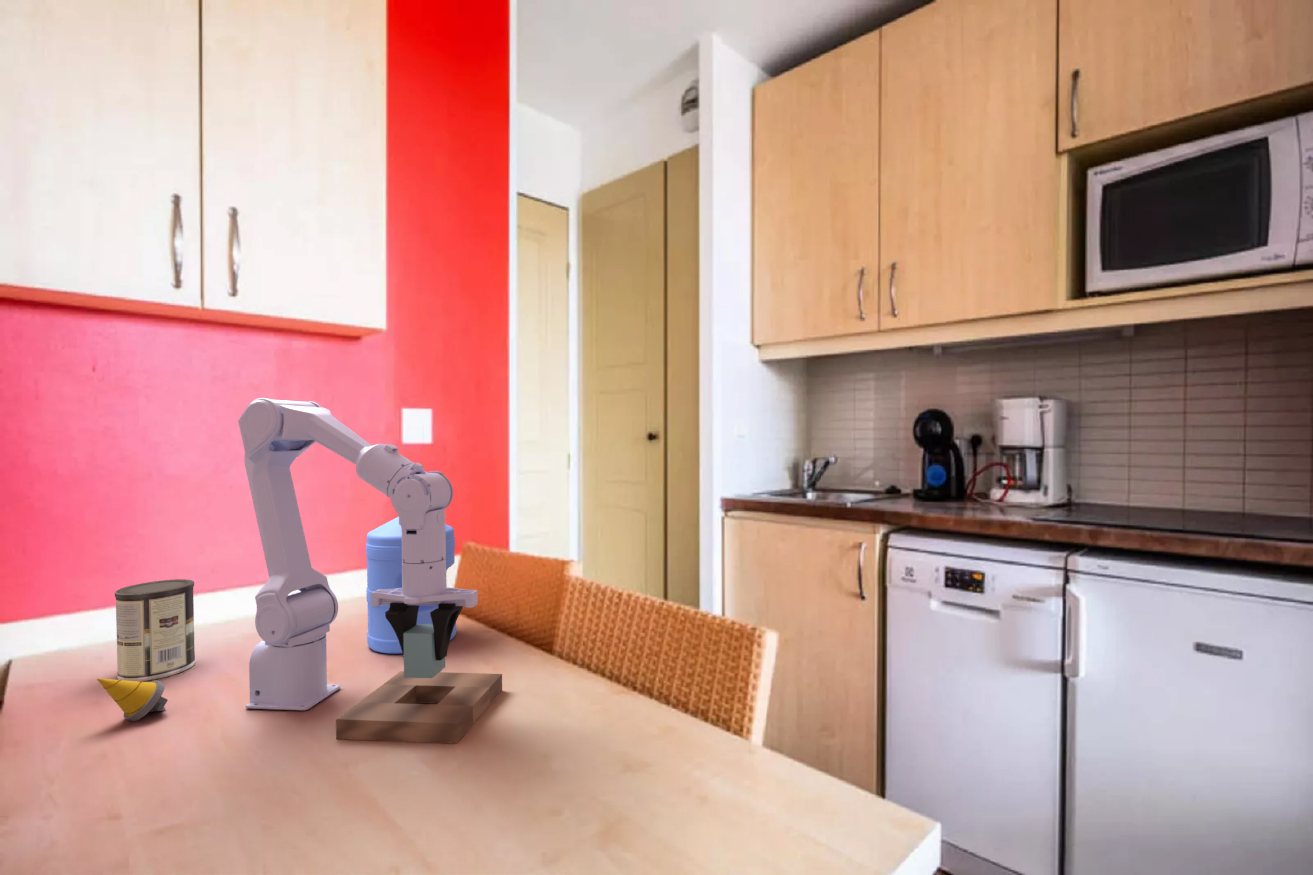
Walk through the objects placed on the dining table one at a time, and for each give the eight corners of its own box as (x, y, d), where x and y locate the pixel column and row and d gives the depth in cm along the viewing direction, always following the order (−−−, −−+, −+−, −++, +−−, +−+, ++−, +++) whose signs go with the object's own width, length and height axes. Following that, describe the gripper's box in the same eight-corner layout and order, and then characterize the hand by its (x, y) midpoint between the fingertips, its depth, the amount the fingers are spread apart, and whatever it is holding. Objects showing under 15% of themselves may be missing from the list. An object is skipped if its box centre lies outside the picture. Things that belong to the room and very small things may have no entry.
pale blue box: (404, 677, 83) (403, 633, 83) (418, 666, 87) (417, 624, 87) (432, 678, 83) (431, 633, 83) (445, 667, 87) (444, 624, 87)
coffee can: (156, 658, 108) (155, 578, 108) (210, 659, 107) (209, 579, 107) (97, 682, 98) (96, 593, 98) (156, 683, 97) (155, 594, 97)
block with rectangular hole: (336, 738, 78) (335, 719, 78) (400, 687, 94) (400, 671, 94) (457, 743, 76) (456, 723, 76) (502, 690, 92) (502, 673, 92)
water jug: (347, 651, 110) (345, 496, 110) (406, 625, 125) (404, 488, 125) (420, 659, 106) (418, 497, 106) (472, 631, 121) (470, 489, 121)
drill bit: (170, 722, 84) (99, 690, 79) (142, 735, 85) (70, 705, 80) (189, 686, 89) (123, 653, 83) (162, 699, 90) (94, 668, 84)
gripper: (357, 565, 82) (359, 667, 82) (462, 566, 80) (463, 669, 80) (386, 555, 89) (387, 648, 89) (482, 555, 87) (484, 650, 87)
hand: (425, 657), depth 85 cm, fingers closed on pale blue box, 4 cm apart
